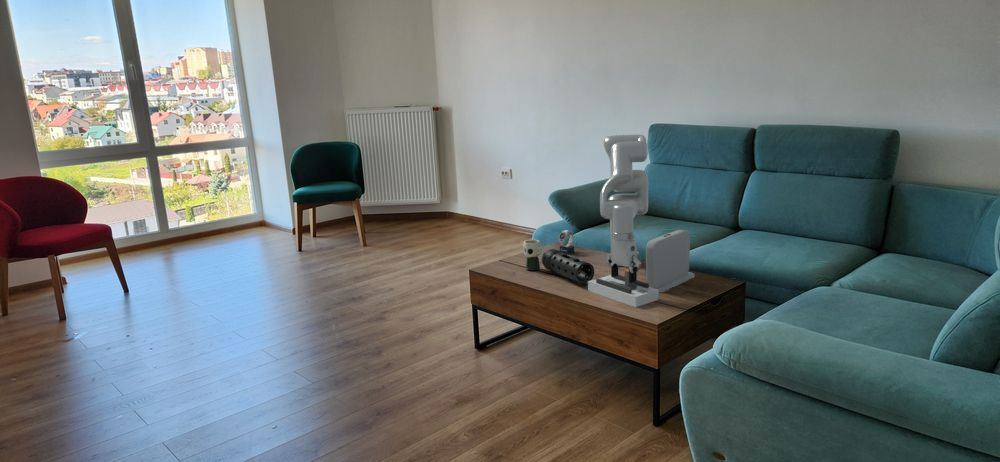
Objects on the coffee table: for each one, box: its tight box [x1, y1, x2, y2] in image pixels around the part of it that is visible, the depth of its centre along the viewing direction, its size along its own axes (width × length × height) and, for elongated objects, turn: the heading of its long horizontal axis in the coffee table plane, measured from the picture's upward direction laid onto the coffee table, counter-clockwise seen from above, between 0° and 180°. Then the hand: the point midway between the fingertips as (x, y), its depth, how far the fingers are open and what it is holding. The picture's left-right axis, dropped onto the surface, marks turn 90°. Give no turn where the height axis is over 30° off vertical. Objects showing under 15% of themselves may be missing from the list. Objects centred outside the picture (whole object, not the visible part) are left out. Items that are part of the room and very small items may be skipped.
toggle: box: [622, 267, 637, 289], centre depth 251 cm, size 4×4×8 cm
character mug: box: [522, 239, 542, 271], centre depth 295 cm, size 11×7×13 cm, turn 42°
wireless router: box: [645, 229, 696, 294], centre depth 267 cm, size 31×10×20 cm, turn 134°
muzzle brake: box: [541, 248, 595, 286], centre depth 281 cm, size 10×28×10 cm, turn 27°
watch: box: [557, 229, 575, 255], centre depth 320 cm, size 6×8×11 cm
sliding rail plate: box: [595, 274, 649, 294], centre depth 255 cm, size 10×18×2 cm, turn 34°
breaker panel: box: [587, 274, 659, 308], centre depth 256 cm, size 12×26×4 cm, turn 34°
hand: (623, 279), depth 254 cm, fingers open, 9 cm apart
